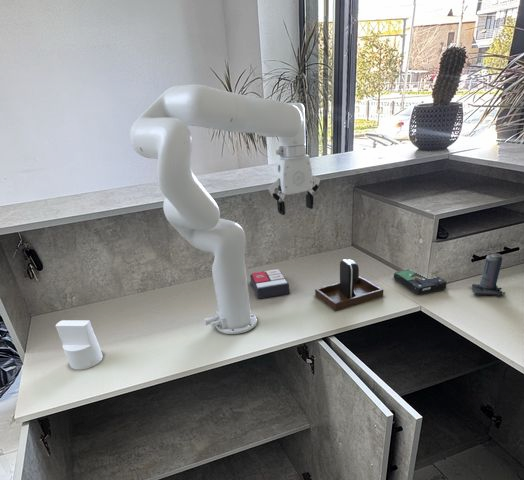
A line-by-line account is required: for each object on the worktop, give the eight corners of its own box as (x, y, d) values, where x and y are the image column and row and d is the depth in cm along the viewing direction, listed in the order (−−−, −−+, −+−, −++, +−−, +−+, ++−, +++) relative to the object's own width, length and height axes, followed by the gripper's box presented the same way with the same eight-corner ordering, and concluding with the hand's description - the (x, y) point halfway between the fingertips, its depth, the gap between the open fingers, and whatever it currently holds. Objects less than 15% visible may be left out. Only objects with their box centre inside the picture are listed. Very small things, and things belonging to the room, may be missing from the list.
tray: (335, 311, 134) (335, 303, 132) (315, 296, 144) (315, 289, 142) (383, 296, 139) (383, 289, 137) (360, 283, 149) (360, 276, 147)
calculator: (279, 267, 157) (288, 281, 144) (280, 278, 160) (289, 293, 147) (249, 272, 156) (256, 286, 143) (251, 283, 158) (257, 298, 145)
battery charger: (359, 297, 139) (360, 263, 132) (348, 300, 138) (349, 266, 132) (349, 289, 144) (350, 256, 138) (339, 291, 144) (339, 258, 137)
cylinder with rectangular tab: (108, 351, 126) (95, 315, 119) (93, 369, 118) (79, 331, 112) (80, 351, 127) (66, 315, 121) (63, 369, 120) (47, 331, 113)
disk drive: (446, 289, 139) (419, 273, 151) (447, 281, 138) (420, 265, 150) (418, 296, 137) (392, 279, 149) (419, 288, 136) (393, 271, 148)
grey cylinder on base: (495, 286, 138) (502, 249, 132) (505, 296, 132) (514, 259, 125) (465, 288, 139) (471, 252, 132) (475, 298, 132) (482, 261, 126)
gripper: (271, 157, 121) (276, 219, 131) (325, 148, 126) (326, 208, 136) (260, 154, 127) (265, 213, 137) (312, 146, 132) (314, 203, 142)
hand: (295, 210), depth 136 cm, fingers open, 9 cm apart
